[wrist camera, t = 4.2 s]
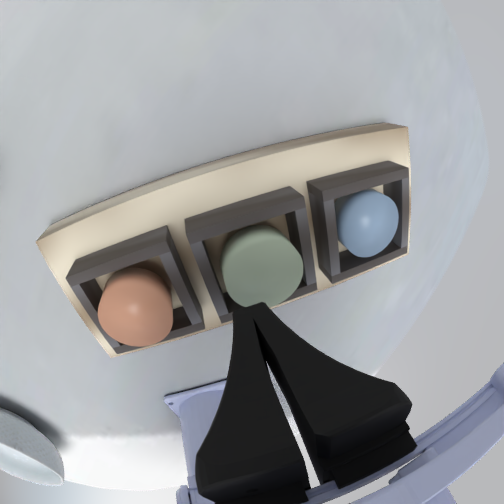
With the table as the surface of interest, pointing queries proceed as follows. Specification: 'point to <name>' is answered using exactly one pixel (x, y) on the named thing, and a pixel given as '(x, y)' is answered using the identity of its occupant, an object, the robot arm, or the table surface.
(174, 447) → the table surface
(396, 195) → the button board
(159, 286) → the button terracotta
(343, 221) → the button blue
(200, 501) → the robot arm
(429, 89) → the table surface
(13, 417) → the cereal bowl
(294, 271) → the button sage
